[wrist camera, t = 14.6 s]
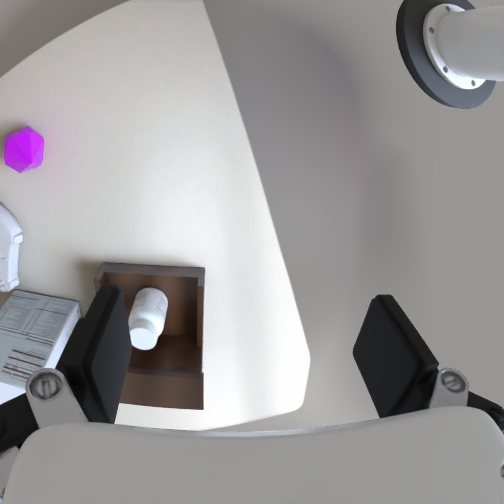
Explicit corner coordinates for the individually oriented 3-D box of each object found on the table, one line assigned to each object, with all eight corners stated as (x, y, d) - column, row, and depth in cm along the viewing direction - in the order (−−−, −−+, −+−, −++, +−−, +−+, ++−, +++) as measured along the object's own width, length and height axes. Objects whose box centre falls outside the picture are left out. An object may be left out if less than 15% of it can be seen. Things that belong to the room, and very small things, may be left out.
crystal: (41, 121, 30) (22, 126, 26) (52, 160, 33) (34, 168, 29) (13, 137, 30) (-7, 143, 26) (23, 173, 33) (5, 183, 29)
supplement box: (12, 288, 40) (-42, 363, 24) (80, 299, 42) (34, 390, 26) (36, 362, 47) (4, 435, 31) (96, 375, 49) (73, 458, 33)
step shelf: (206, 268, 42) (204, 321, 32) (204, 355, 49) (203, 409, 39) (102, 262, 40) (74, 310, 30) (117, 348, 47) (102, 400, 37)
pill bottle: (133, 307, 40) (120, 346, 34) (139, 282, 39) (126, 319, 32) (163, 317, 42) (156, 357, 35) (172, 292, 40) (164, 332, 33)
